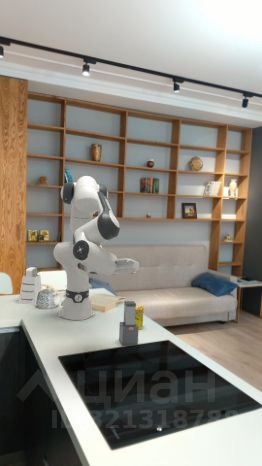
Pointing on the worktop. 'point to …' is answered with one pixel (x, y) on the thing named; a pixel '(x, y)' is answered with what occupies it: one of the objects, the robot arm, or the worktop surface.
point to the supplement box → (139, 316)
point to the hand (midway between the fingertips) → (124, 272)
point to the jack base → (128, 335)
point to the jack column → (129, 313)
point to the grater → (30, 287)
